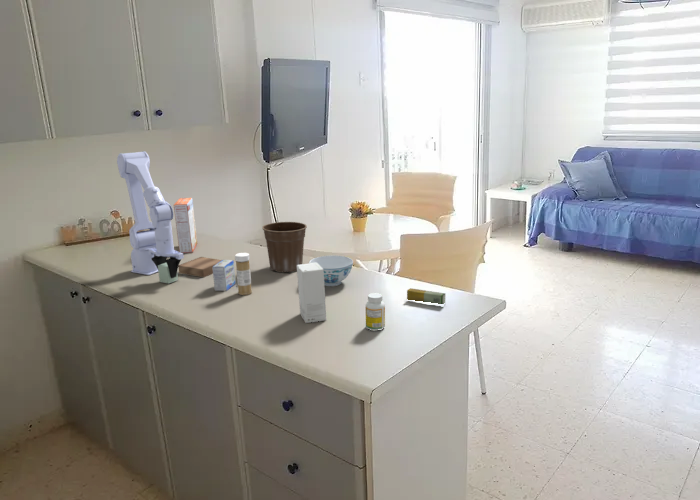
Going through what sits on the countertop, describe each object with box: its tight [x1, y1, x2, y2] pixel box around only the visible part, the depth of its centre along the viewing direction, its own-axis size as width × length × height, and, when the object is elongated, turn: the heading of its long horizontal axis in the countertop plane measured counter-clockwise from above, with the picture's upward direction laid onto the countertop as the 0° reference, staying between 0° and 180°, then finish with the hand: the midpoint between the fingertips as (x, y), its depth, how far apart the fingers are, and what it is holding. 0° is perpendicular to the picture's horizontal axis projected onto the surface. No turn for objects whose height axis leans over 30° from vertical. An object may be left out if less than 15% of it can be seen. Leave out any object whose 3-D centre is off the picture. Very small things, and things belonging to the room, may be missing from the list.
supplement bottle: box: [365, 292, 386, 330], centre depth 157 cm, size 5×5×10 cm
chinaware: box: [308, 254, 354, 287], centre depth 194 cm, size 15×15×8 cm
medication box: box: [406, 288, 446, 304], centre depth 175 cm, size 12×3×4 cm, turn 61°
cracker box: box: [173, 197, 198, 254], centre depth 239 cm, size 14×6×21 cm, turn 6°
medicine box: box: [212, 259, 236, 292], centre depth 192 cm, size 8×4×9 cm, turn 168°
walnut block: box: [178, 256, 223, 278], centre depth 211 cm, size 12×12×3 cm
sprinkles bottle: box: [234, 252, 253, 296], centre depth 185 cm, size 5×5×14 cm
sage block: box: [157, 263, 179, 284], centre depth 199 cm, size 4×4×6 cm
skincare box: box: [296, 262, 327, 324], centre depth 164 cm, size 8×7×16 cm
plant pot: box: [262, 221, 307, 273], centre depth 211 cm, size 16×16×16 cm
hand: (168, 276), depth 199 cm, fingers closed on sage block, 4 cm apart
